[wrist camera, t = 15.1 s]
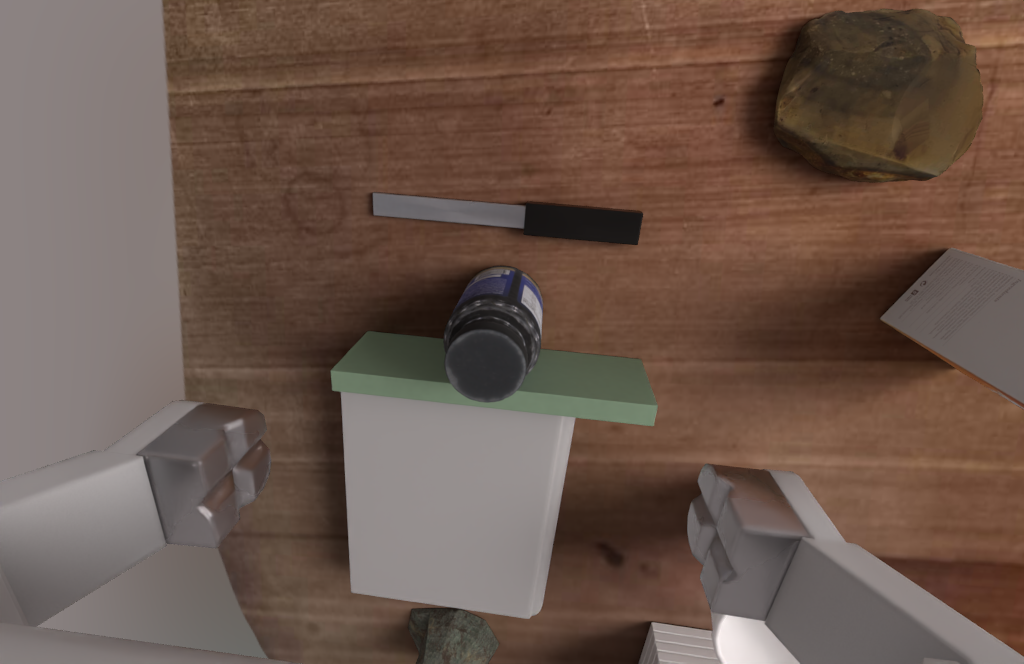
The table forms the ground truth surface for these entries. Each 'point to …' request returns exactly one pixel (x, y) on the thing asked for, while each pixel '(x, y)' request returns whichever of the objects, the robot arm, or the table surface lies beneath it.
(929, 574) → the table surface
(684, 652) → the white ribbed block
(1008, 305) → the small box
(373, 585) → the white rectangular block
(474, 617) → the sword in stone
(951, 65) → the decorative stone
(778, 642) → the cup
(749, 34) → the table surface
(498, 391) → the pill bottle
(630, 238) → the table knife
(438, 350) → the green board
